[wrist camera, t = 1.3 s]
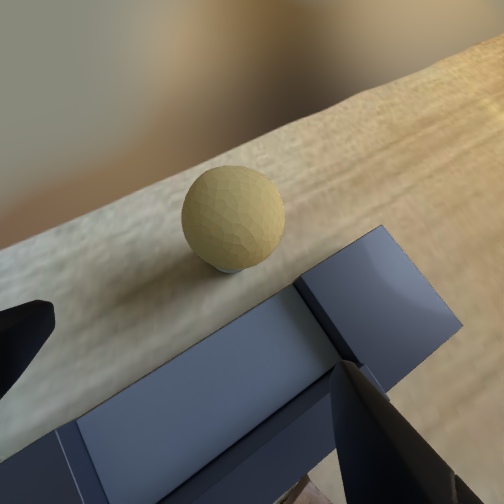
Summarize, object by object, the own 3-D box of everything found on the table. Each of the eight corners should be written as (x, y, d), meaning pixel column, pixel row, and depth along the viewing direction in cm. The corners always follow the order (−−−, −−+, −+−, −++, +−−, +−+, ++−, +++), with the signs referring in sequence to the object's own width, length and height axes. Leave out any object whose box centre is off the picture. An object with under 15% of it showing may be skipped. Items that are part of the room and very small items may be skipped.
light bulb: (198, 217, 24) (184, 135, 15) (268, 225, 25) (297, 151, 16) (187, 286, 22) (163, 242, 13) (264, 294, 23) (295, 256, 13)
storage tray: (68, 615, 15) (-9, 751, 10) (14, 459, 17) (-72, 506, 12) (419, 330, 23) (476, 325, 18) (354, 244, 25) (389, 218, 20)
